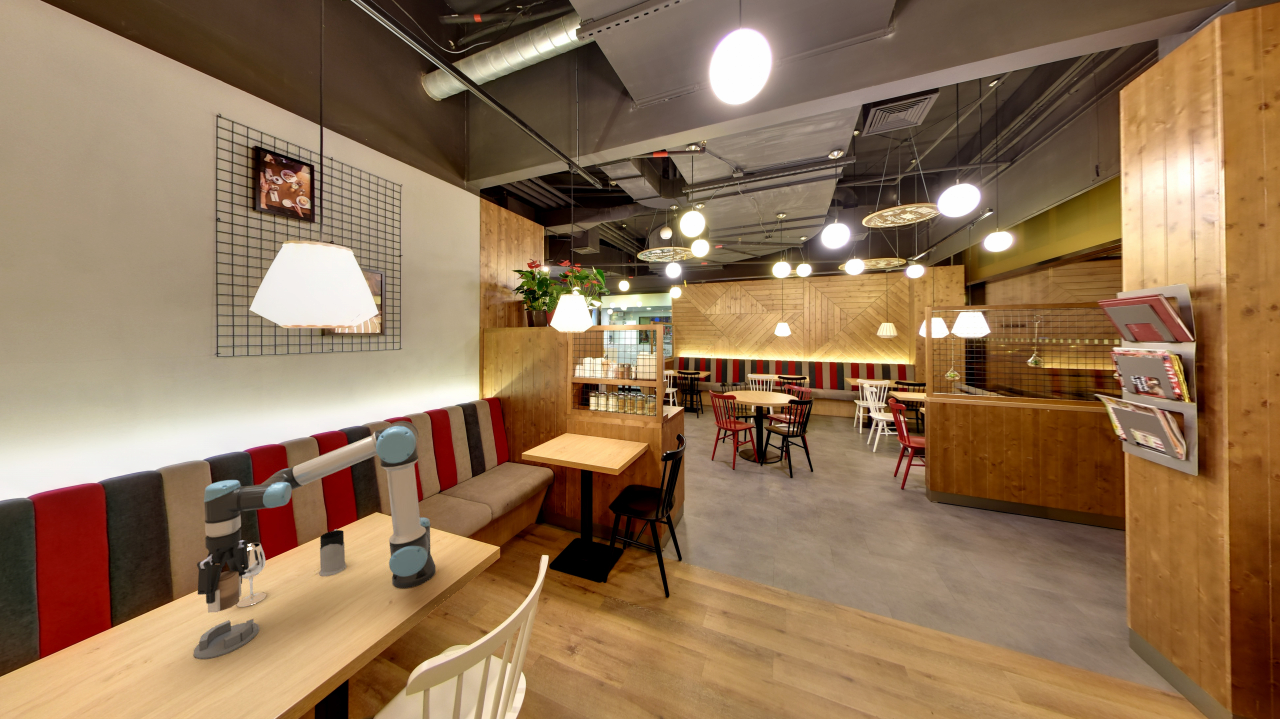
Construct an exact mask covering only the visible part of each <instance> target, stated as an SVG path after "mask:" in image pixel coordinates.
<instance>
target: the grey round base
mask: <svg viewBox="0 0 1280 719" xmlns="http://www.w3.org/2000/svg"><path fill="white" fill-rule="evenodd" d="M231 624H232V623H231V620H230V619H229V620H225V621H223V622H221V623H219V624H216V625H214V626H213V627H211V628H209V629H208V630H207V631H206V632H204V633H203V634H202V635H201V636H200V638H199V642H198V644H197V645H195V648H194V649H193V657H194V658H195V659H198V660H210V659H213V658H218V657H221V656H224V655H227V654H230V653H231V652H234V651H236V650H239V649H240V648H242V647H244V646H245V645H247V644H248V643H249V642H251V641H252V640H253V639H254V638H255V637H256V636H257V634H259V631H260V625H259V624H258V623H257V622H254V618H251V619H248V620H246V622H241V623H236V624H233V625H231Z"/></svg>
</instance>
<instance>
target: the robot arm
mask: <svg viewBox="0 0 1280 719" xmlns="http://www.w3.org/2000/svg"><path fill="white" fill-rule="evenodd" d="M418 440H419V430H418V428H417V426H416V425H415V424H413V423H411V422H410V421H405V420H398V421H395V422H391V424H388V425H387V426H385V427H382V428H380V429H378V430H375V431H374V432H373V434H372V435H370V436H367V437H364V438H363V439H359V440H358V441H355V442H353V443H350V444H347V445H344V446H342V447H339V448H337V449H334V450H332V451H329V452H326V453H324V454H321V455H320V456H317V457H315V458H312V459H310V460H307V461H304V462H302V463H299V464H297V465H295V466H293V467H289V468H284V469H281V470H279V471H277V472H275V473H274V474H273V475H271V476H269V478H267V479H266V480H265V481H264V482H262V483H261V484H255V485H254V484H253V485H244V486H242V485H241V482H240V480H237V479H227V480H220V481H217V482H213V483H211V484H209V485H207V486H205V488H204V495H203V498H204V500H203V503H204V504H203V505H204V525H205V526H204V529H205V530H204V531H205V532H204V534H205V535H206V536H205V538H204V541H205V542H204V543H205V549H206V550H208V554H207V556H206V557H207V558H205V559H204V560H202V561H198V562H197V563H196V567H197V568H198V576H197V577H198V580H197V581H198V582H197V595H198V596H199V595H200V596H201V595H202V596H203V595H205V603H206V605H207V613H219V612H221V611H220V590H217V587H218V583H219V579H220V575H221V573H222V571H223V568H224V567H225V565H226V564H227V566H228V568H229V571H237V572H239V598H241V596H242V584H243V578H242V575H245V574H246V571H245V570H247V569H248V568H249V564H248V554H247V545H248V544H249V540H247V539H246V540H245V539H244V540H243V539H242V528H241V527H242V519H241V512H246V511H253V510H262V509H273V508H278V507H284V506H286V505H287V504H288V503H289V502H290V499H291V498H292V491H293V490H297V489H298V488H300V487H303V486H305V485H307V484H310V483H312V482H314V481H317V480H320V479H322V478H325V477H327V476H329V475H332V474H334V473H337V472H339V471H341V470H344V469H347V468H349V467H350V466H353V465H355V464H358V463H361V462H362V461H365V460H369V459H370V458H373V457H375V456H378V457H379V462H380V467H381V468H382V469H384V470H385V471H386V477H387V478H386V479H387V486H388V487H387V488H388V496H389V503H390V504H389V505H390V514H391V521H392V522H391V523H392V530H393V533H392V535H391V536H390V537H389V538H388V542H389V549H390V550H389V551H390V552H389V553H390V558H389V559H388V560H389V561H388V565H389V570H390V572H391V574H392V576H391V580H392V582H391V584H392V585H393V587H394V588H399V589H409V588H414V587H417V586H419V585H422V584H425V583H427V582H428V581H429V580H431V579H432V578H433V577H434V576H435V574H436V572H437V571H436V567H437V566H436V564H435V561H434V559H433V557H432V554H431V522H430V521H431V520H430V519H429V518H427V517H420V507H419V498H418V489H417V488H418V487H417V479H416V478H417V477H416V469H415V464H416V463H417V461H418V460H419V453H418V452H419V451H418V443H417V442H418ZM241 539H242V540H241ZM242 565H244V566H242ZM244 571H245V572H244Z"/></svg>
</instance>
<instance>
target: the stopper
mask: <svg viewBox="0 0 1280 719" xmlns="http://www.w3.org/2000/svg"><path fill="white" fill-rule="evenodd" d="M217 590H220V611H219V612H222V611H225V610H226V611H227V610H228V609H230V608H233V607H234V606H237V603H238V602H239V601H240V597H239V572H237V571H230V570H227V571H224V572H221V575H220V579H219V583H218V587H217Z"/></svg>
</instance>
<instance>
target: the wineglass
mask: <svg viewBox="0 0 1280 719" xmlns="http://www.w3.org/2000/svg"><path fill="white" fill-rule="evenodd" d="M247 554H248V564H249V568H248V569H247V570H245V571H246V574H245V575H242V580H246V579H247V580H248V581H249V595H247V596H245V597H243V598H241V599H239V602H238V603H237V604H236V606H237V608H245V607H249V606H253V605H255V604H258V603H259V602H261V601H263V600H264V599H265V598H266V597H267V593H265V592H257V593H254V590H253V589H254V588H253V587H254V586H253V584H254V583H253V581H254V577H257V576H258V575H260V573H261V572H262V571H263V570H264V568H265V566H266V557H265V556H266V555H265V552H264V550H263V547H262V544H261V543H260V542H252V543H248V544H247ZM242 566H244V565H242ZM245 571H244V572H245Z"/></svg>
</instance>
